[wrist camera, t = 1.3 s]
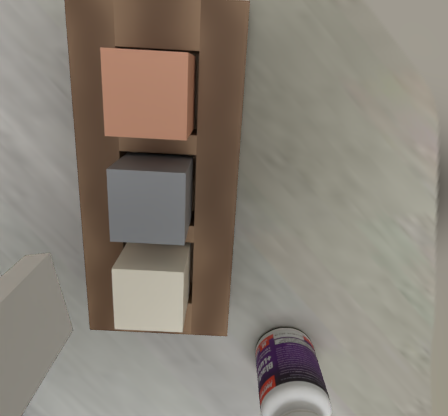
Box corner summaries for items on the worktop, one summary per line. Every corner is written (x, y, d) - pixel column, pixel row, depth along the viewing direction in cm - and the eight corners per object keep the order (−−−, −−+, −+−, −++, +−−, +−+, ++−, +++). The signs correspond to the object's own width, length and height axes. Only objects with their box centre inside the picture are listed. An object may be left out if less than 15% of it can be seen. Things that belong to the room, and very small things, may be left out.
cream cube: (132, 289, 30) (114, 329, 26) (130, 236, 29) (111, 268, 24) (189, 292, 30) (182, 332, 26) (190, 240, 29) (183, 272, 24)
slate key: (129, 213, 28) (110, 241, 23) (127, 152, 27) (106, 168, 22) (191, 216, 28) (184, 245, 23) (193, 155, 27) (185, 173, 22)
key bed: (103, 304, 34) (89, 329, 30) (84, 1, 26) (63, -11, 22) (227, 310, 34) (226, 336, 30) (246, 10, 26) (249, 1, 22)
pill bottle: (255, 325, 34) (266, 417, 25) (315, 325, 34) (347, 417, 25) (253, 372, 36) (263, 474, 27) (310, 373, 36) (339, 475, 27)
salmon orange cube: (126, 124, 26) (104, 135, 21) (124, 52, 24) (100, 47, 20) (193, 128, 26) (186, 140, 21) (195, 56, 24) (188, 52, 20)
